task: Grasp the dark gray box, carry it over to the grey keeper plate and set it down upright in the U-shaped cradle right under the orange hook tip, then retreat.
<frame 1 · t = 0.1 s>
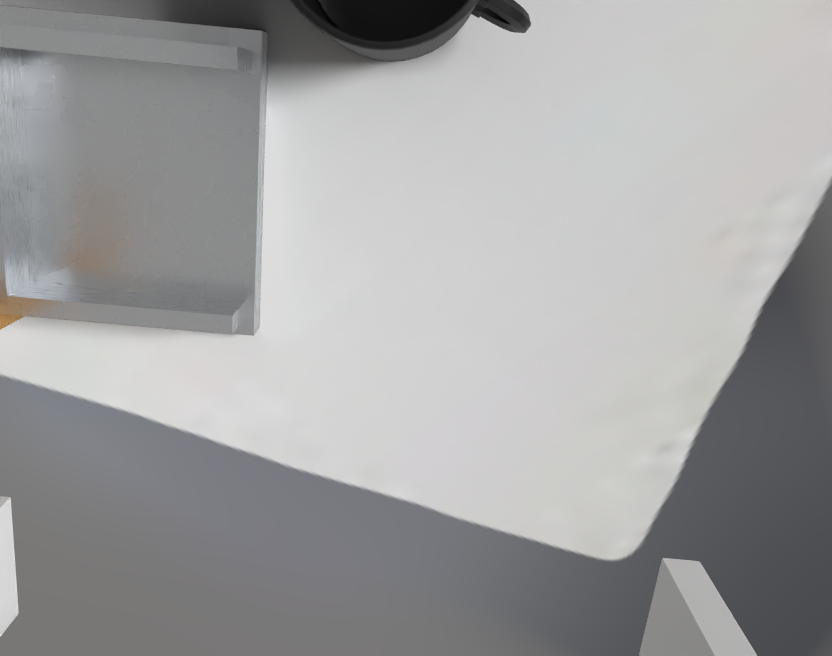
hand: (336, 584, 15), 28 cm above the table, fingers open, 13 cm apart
keeper: (135, 177, 40), on the table
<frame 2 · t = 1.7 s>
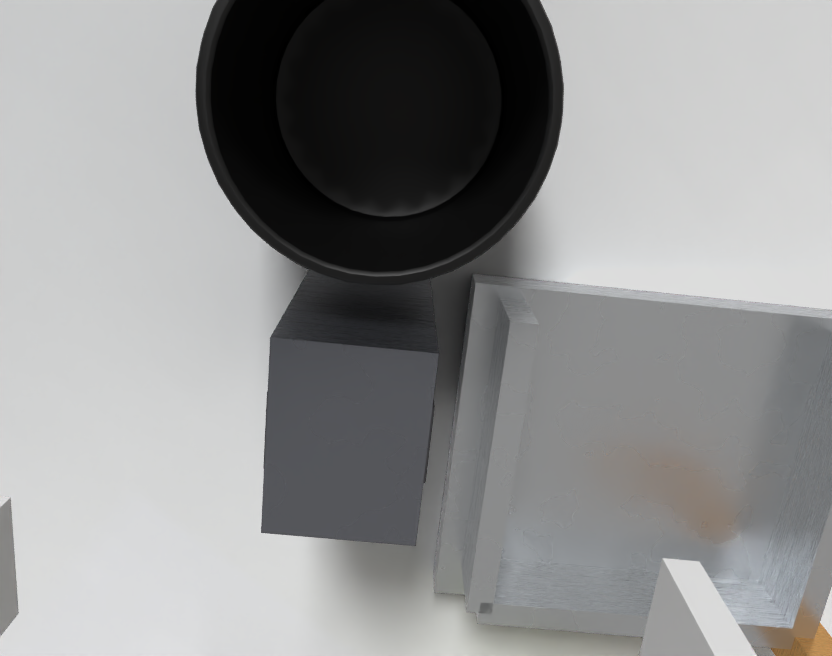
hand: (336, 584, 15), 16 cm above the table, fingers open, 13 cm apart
dark gray box: (366, 334, 30), on the table
mug: (406, 72, 27), on the table
keeper: (635, 449, 31), on the table
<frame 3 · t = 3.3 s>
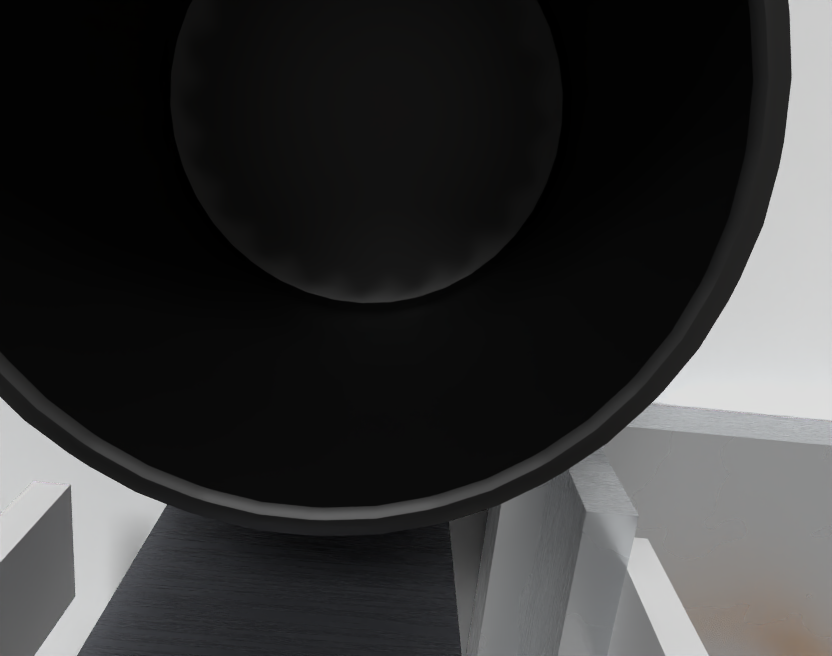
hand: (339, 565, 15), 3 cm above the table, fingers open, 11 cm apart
dark gray box: (334, 483, 19), on the table
mug: (397, 59, 16), on the table
keeper: (756, 650, 20), on the table
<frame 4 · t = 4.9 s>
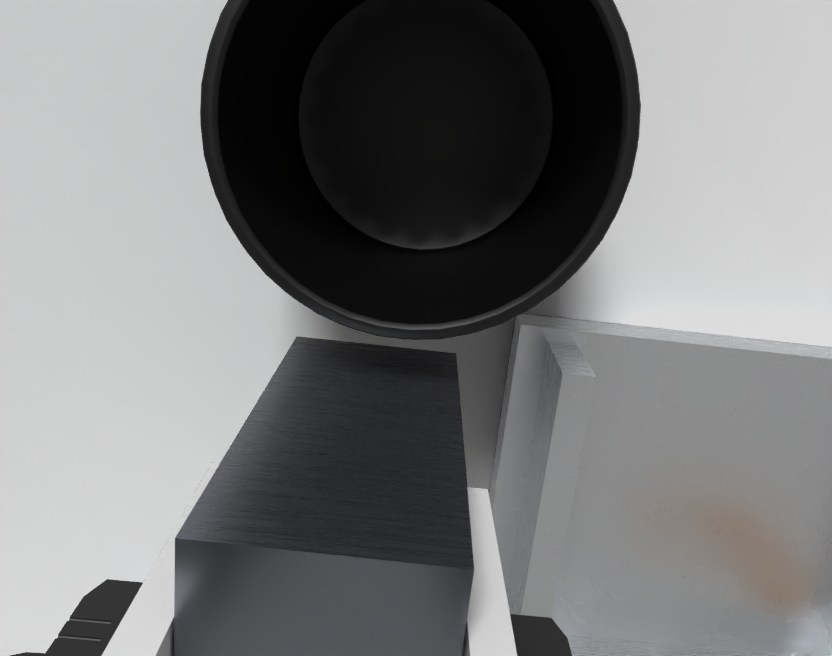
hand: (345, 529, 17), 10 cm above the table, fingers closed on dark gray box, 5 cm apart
dark gray box: (367, 441, 21), point 6 cm above the table, touching gripper
mug: (444, 88, 24), on the table
keeper: (697, 510, 28), on the table
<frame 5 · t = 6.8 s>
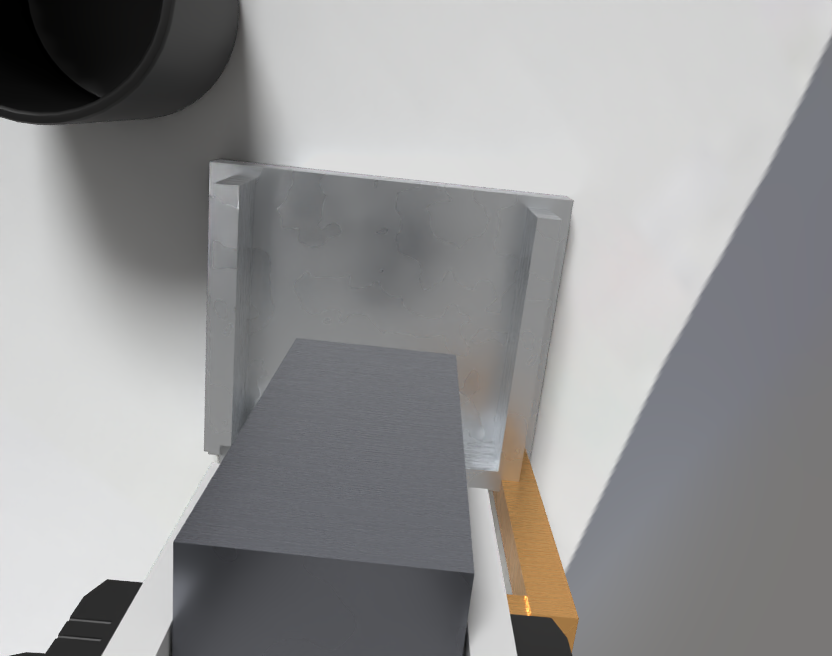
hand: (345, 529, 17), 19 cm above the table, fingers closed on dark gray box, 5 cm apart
dark gray box: (367, 443, 21), point 15 cm above the table, touching gripper
keeper: (380, 323, 35), on the table
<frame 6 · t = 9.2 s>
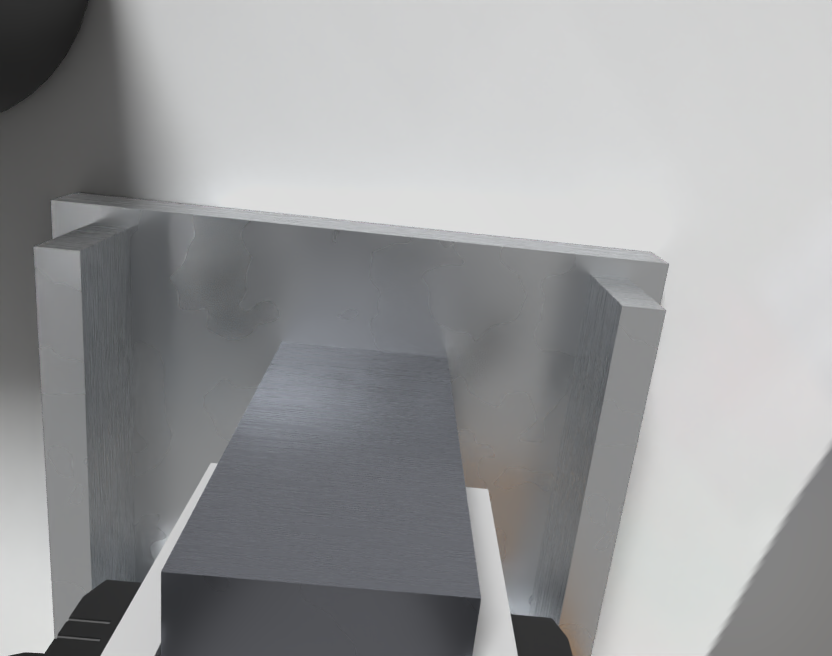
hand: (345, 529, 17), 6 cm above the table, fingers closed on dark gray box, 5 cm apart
dark gray box: (356, 448, 21), point 1 cm above the table, touching gripper, keeper
keeper: (348, 449, 22), on the table
when the fingers open (6 cm above the table, at t = 9.8 s): dark gray box stays where it is, resting on keeper.
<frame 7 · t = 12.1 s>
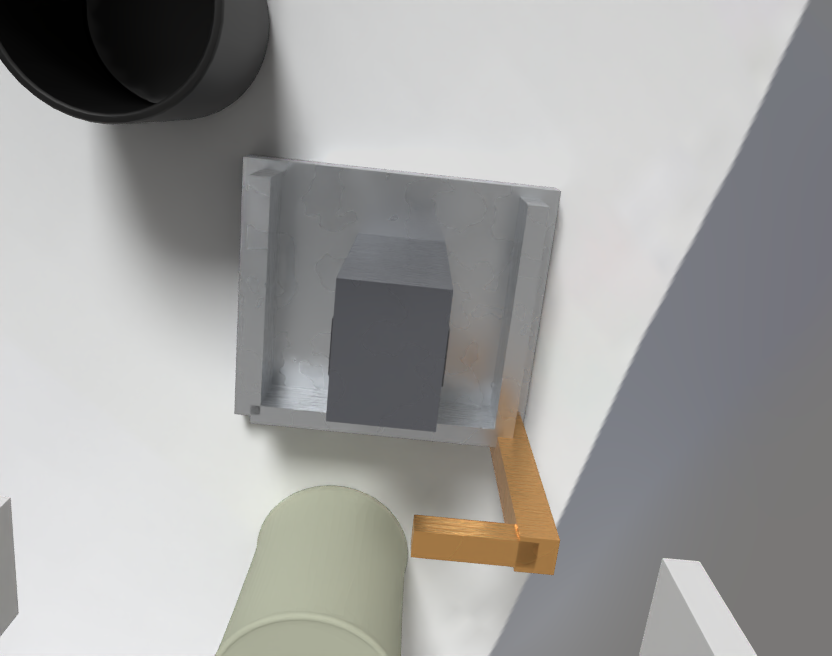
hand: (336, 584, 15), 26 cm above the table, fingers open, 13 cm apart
can: (333, 549, 45), on the table
dark gray box: (396, 293, 38), point 1 cm above the table, touching keeper
keeper: (390, 300, 40), on the table
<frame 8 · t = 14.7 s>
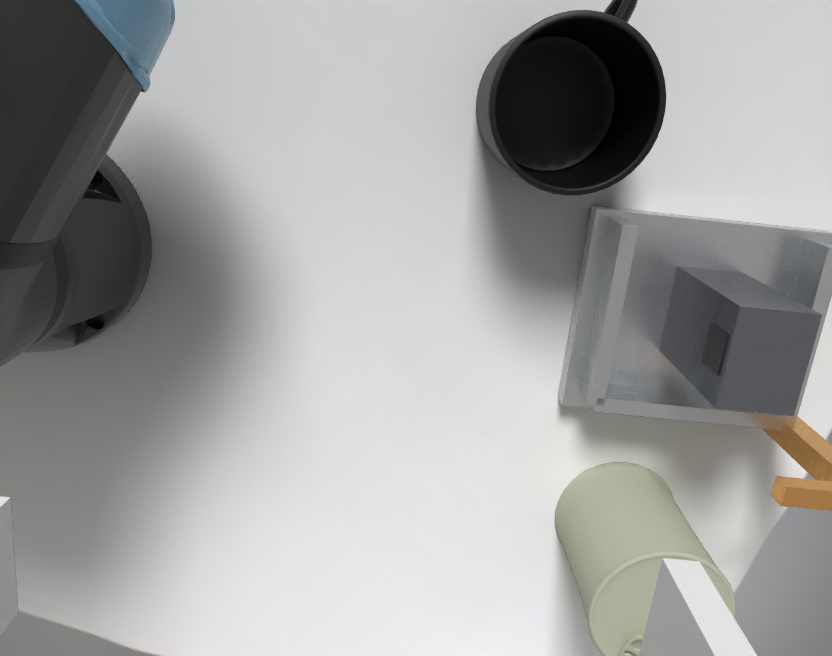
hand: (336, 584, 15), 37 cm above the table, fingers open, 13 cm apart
can: (613, 513, 56), on the table
dark gray box: (700, 312, 50), point 1 cm above the table, touching keeper
mug: (558, 87, 47), on the table
keeper: (686, 316, 51), on the table
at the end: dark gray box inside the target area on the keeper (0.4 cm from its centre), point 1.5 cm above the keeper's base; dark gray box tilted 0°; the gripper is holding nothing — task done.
